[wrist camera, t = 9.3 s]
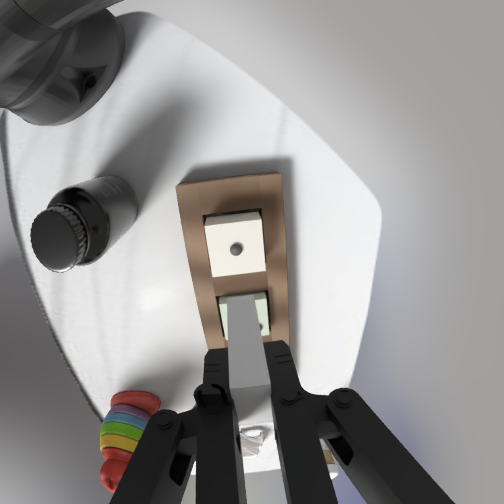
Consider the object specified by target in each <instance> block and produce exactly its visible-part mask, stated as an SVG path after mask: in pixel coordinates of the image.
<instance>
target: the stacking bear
mask: <svg viewBox="0 0 504 504" xmlns="http://www.w3.org/2000/svg"><path fill="white" fill-rule="evenodd" d="M160 404H161V402H160V401H159V398H158V397H156V396H154V395H153V394H151V393H147V392H137V391H131V392H123V393H119V394H117V395H115V396H113V397H112V399H111V410H110V411H109V412H108V414H107V416H106V417H105V419H104V421H103V423H102V427H101V431H100V432H101V433H100V449H101V451H102V455H103V456H104V458H105V459H106V460H107V461H106V462H105V463H104V464H103V465H102V467H101V470H100V479H101V482H102V484H103V485H104V486H105V487H106V488H107V489H108V490H109V491H111V492H113V493H114V492H115V490H116V488H117V486H118V484H119V482H120V480H121V477H122V475H123V473H124V471H125V469H126V467H127V465H128V463H129V460H130V458H131V456H132V454H133V452H134V450H135V448H136V446H137V444H138V442H139V440H140V438H141V435H142V433H143V431H144V429H145V427H146V425H147V423H148V421H149V419H150V418H151V416H152V415H153V414H154V413H156V412H157V411H158V409H159V407H160Z"/></svg>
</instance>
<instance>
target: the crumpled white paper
mask: <svg viewBox="0 0 504 504" xmlns="http://www.w3.org/2000/svg"><path fill="white" fill-rule="evenodd" d="M239 433H240V432H239ZM240 436H241V447H242V457H247V458H254V457H256V456H257V455H258V453H259V452H260V451H259V449H260V448H261V447H262V444H263V438H264V436H263V433H262V432H260V435H259V436H258V437H257V436H256V437H255V438H253V437H250V436H247V435H245V434H242V433H240Z"/></svg>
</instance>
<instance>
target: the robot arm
mask: <svg viewBox="0 0 504 504" xmlns="http://www.w3.org/2000/svg"><path fill="white" fill-rule="evenodd" d="M121 1H123V0H0V108H6V109H8V110H10V111H11V112H13V113H14V114H16V115H18V116H19V117H21V118H22V119H24V120H25V121H26V122H28V123H31V124H34V125H39V126H56V125H61V124H65V123H68V122H70V121H72V120H74V119H76V118H78V117H79V116H81V115H82V114H84V113H85V112H86V111H88V110H89V109H90V108H91V107H92V106H93V105H94V104H95V103H96V102H97V101H98V100H99V99H100V98H101V97H102V95H103V94H104V93H105V92H106V90H107V89H108V87H109V86H110V84H111V83H112V81H113V79H114V77H115V75H116V73H117V71H118V69H119V66H120V64H121V61H122V57H123V52H124V43H125V41H124V32H123V29H122V26H121V24H120V22H119V21H118V20H117V18H116V17H115V16H114V15H113V14H112V13H110V11H109V10H107V9H106V8H107V7H110V6H111V5H114V4H116V3H118V2H121ZM227 325H228V347H227V348H216V349H209V351H208V352H207V354H206V355H205V359H204V375H203V384H201V385H199V386H198V387H197V388H196V389H195V392H194V398H195V401H196V403H197V406H196V407H195V408H193V409H191V410H189V411H186V412H182V413H179V414H177V413H176V412H175V411H172V410H165V409H164V410H160V411H157V412H156V413H154V414H153V415H152V416H151V418H150V419H149V421H148V423H147V425H146V427H145V429H144V431H143V433H142V435H141V438H140V440H139V442H138V444H137V446H136V448H135V450H134V452H133V454H132V456H131V458H130V460H129V463H128V465H127V467H126V469H125V471H124V473H123V475H122V477H121V480H120V482H119V484H118V486H117V488H116V490H115V492H114V495H113V497H112V499H111V501H110V503H109V504H181V501H182V497H183V495H184V491H185V489H186V486H187V482H188V479H189V477H190V474H191V471H192V468H193V464H194V461H195V458H196V504H247V499H246V489H245V480H244V469H243V458H242V447H241V436H240V433H239V426H240V425H250V424H258V423H266V422H273V423H274V431H275V440H276V443H277V449H278V454H279V460H280V465H281V471H282V476H283V482H284V487H285V493H286V499H287V504H338V501H337V498H336V495H335V491H334V487H333V484H332V480H331V477H330V473H329V470H328V466H327V463H326V460H325V456H324V453H323V449H322V446H321V443H320V439H323V441H324V442H325V444H326V445H327V447H328V448H329V450H330V451H331V453H332V454H333V456H334V457H335V459H336V460H337V462H338V463H339V464H340V466H341V467H342V469H343V470H344V471H345V473H346V475H347V476H348V477H349V479H350V480H351V482H352V483H353V485H354V486H355V487H356V489H357V490H358V491H359V493H360V494H361V496H362V497H363V499H364V500H365V501H366V503H367V504H455V503H454V502H453V501H452V500H451V499H450V498H449V497H448V495H447V494H446V493H445V492H444V491H443V490H442V489H441V488H440V487H439V486H438V485H437V483H436V482H435V481H434V480H433V479H432V478H431V477H430V475H429V474H428V473H427V472H426V471H425V470H424V469H423V468H422V466H421V465H420V464H419V463H418V462H417V461H416V460H415V459H414V457H413V456H412V455H411V454H410V453H409V452H408V451H407V449H406V448H405V447H404V446H403V445H402V444H401V443H400V442H399V440H398V439H397V438H396V437H395V436H394V435H393V434H392V433H391V431H390V430H389V429H388V428H387V427H386V426H385V425H384V423H383V422H382V421H381V420H380V419H379V417H378V416H377V415H376V414H375V413H374V412H373V411H372V410H371V408H370V407H369V406H368V405H367V404H366V403H365V402H364V400H363V399H362V398H361V397H360V396H359V394H358V393H356V392H355V391H354V390H352V389H349V388H339V389H335V390H334V391H332V392H331V393H330V394H329V395H315V394H311V393H308V392H307V391H305V390H304V389H303V388H302V387H301V384H300V382H299V378H298V375H297V372H296V368H295V365H294V362H293V358H292V355H291V352H290V348H289V346H288V345H287V344H286V343H285V342H284V341H283V340H278V341H271V342H263V341H262V336H261V330H260V325H259V320H258V314H257V309H256V304H255V298H254V294H253V295H245V296H237V297H228V298H227Z"/></svg>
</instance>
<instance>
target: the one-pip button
mask: <svg viewBox="0 0 504 504" xmlns="http://www.w3.org/2000/svg"><path fill="white" fill-rule="evenodd" d="M204 227H205V234H206V240H207V246H208V253H209V259H210V265H211V271H212V276H213V277H219V276H228V275H236V274H244V273H253V272H261V271H266V268H265V256H264V244H263V232H262V220H261V217H260V215H259V213H258V211H256V212H247V213H239V214H230V215H222V216H214V217H207V218H206V222H205V226H204Z"/></svg>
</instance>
